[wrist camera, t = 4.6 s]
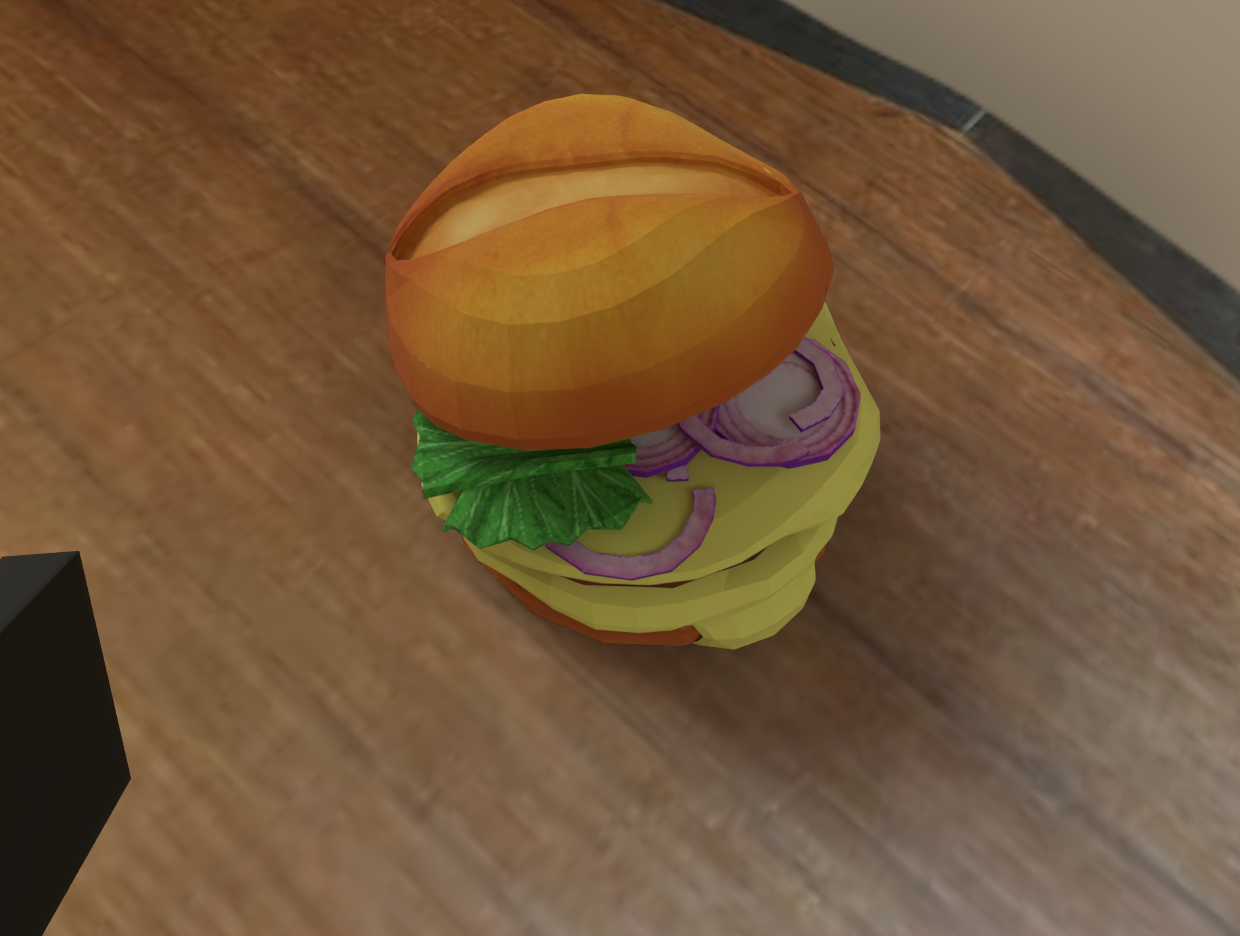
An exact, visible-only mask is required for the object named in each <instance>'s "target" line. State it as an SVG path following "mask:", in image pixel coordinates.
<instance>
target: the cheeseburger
mask: <svg viewBox="0 0 1240 936" xmlns="http://www.w3.org/2000/svg"><path fill="white" fill-rule="evenodd" d="M833 272H834V268H833V262H832V256H831V252H830V249H829V246H828V244H827V242H826V240H825V238H824V236H823V234H822V232H821V230H820V228H819V226H818V224H817V222H816V221H815V219H814V217H813V215H812V213H811V211H810V209H809V207H808V205H807V203H806V201H805V199H804V197H803V195H802V193H801V192H800V191H799V190H798V189H797V188H796V187H795V186H794V185H793V183H792V182H791V181H790V180H789V179H788V178H787V177H786V176H785V175H783V174H782V173H780V172H779V171H777V170H776V169H774V168H772V167H770V166H768V165H767V164H765V163H763V162H761V161H759V160H757V159H755V158H753V157H751V156H750V155H748V154H746V153H744V152H742V151H740V150H738V149H737V148H735V147H733V146H731V145H729V144H727V143H726V142H724V141H722V140H720V139H719V138H717V137H715V136H713V135H712V134H710V133H708V132H707V131H705V130H703V129H702V128H700V127H698V126H696V125H694V124H693V123H691V122H689V121H687V120H685V119H684V118H682V117H680V116H678V115H676V114H674V113H673V112H670V111H667V110H664V109H661V108H658V107H655V106H652V105H649V104H646V103H643V102H640V101H637V100H634V99H631V98H627V97H622V96H614V95H593V94H578V95H573V96H569V97H564V98H559V99H554V100H549V101H545V102H542V103H540V104H538V105H535V106H533V107H531V108H529V109H526V110H524V111H522V112H520V113H517V114H515V115H513V116H510V117H509V118H507V119H506V120H504V121H503V122H502V123H500V124H499V125H497V126H496V127H495V128H493V129H492V130H490V131H489V132H488V133H486V134H485V135H484V136H482V137H481V138H480V139H478V140H477V141H476V142H474V143H473V144H472V145H471V146H470V147H468V148H467V149H466V150H465V151H464V152H462V153H461V154H460V155H459V156H458V157H456V158H455V159H454V160H453V161H452V162H451V163H449V165H448V166H447V167H446V168H445V169H444V170H443V171H442V172H441V173H440V174H439V175H438V176H437V178H436V179H435V180H434V181H433V182H432V183H431V184H430V185H429V186H428V187H427V188H426V189H425V191H424V192H423V193H422V194H421V195H420V197H419V198H418V199H417V201H416V202H415V203H414V205H413V206H412V207H411V209H410V210H409V211H408V212H407V214H406V215H405V216H404V218H403V219H402V221H401V223H400V224H399V226H398V227H397V229H396V230H395V233H394V236H393V238H392V241H391V244H390V246H389V249H388V252H387V254H386V268H385V292H386V321H387V331H388V337H389V343H390V348H391V354H392V360H393V364H394V366H395V368H396V370H397V372H398V374H399V376H400V378H401V380H402V382H403V384H404V385H405V387H406V389H407V391H408V393H409V395H410V397H411V399H412V401H413V403H414V405H415V407H416V409H418V411H417V413H416V414H415V416H414V418H413V419H412V422H413V423H414V425H415V427H416V429H417V431H418V437H417V449H416V452H415V456H414V459H413V463H412V467H411V469H412V470H413V471H414V473H415V474H416V475H417V476H418V478H419V479H420V480H421V482H422V483H421V486H422V488H423V496H424V499H427V498H428V500H429V502H430V504H431V506H432V508H433V510H434V512H435V514H436V516H437V517H439V518H441V519H443V520H445V521H446V522H445V524H444V526H443V528H442V530H441V531H443V532H446V531H447V530H448V529H455V530H457V531H458V532H459V533H460V534H461V535H462V538H463V541H464V544H465V547H466V548H467V549H468V550H469V551H470V552H471V553H472V554H473V555H474V556H475V557H476V558H477V559H478V560H479V561H480V562H481V563H482V564H483V565H484V566H485V567H486V568H487V569H488V570H489V571H490V572H491V573H492V574H493V575H494V576H495V577H496V578H497V579H498V580H499V581H500V582H501V583H502V584H503V585H504V586H505V587H506V588H507V589H508V590H509V591H511V592H512V593H513V594H514V595H515V596H516V597H517V598H518V599H519V600H520V601H521V602H522V603H523V604H524V605H525V606H526V607H527V608H528V609H529V610H530V611H531V612H532V613H533V614H536V615H538V616H541V617H543V618H545V619H548V620H550V621H553V622H555V623H557V624H560V625H562V626H565V627H567V628H569V629H572V630H574V631H577V632H579V633H581V634H584V635H586V636H589V637H591V638H593V639H596V640H598V641H601V642H603V643H620V644H646V645H671V646H685V645H687V644H690V643H694V644H697V645H701V646H711V647H718V648H725V649H733V650H734V649H737V648H740V647H743V646H746V645H748V644H751V643H754V642H757V641H760V640H762V639H765V638H768V637H771V636H774V635H775V634H776V633H777V632H778V631H779V630H780V629H781V628H782V627H784V626H785V625H786V624H787V623H788V622H789V621H790V620H791V619H792V618H793V617H794V616H795V615H796V614H797V613H798V612H800V611H801V610H802V609H803V607H804V605H805V603H806V600H807V598H808V596H809V594H810V592H811V590H812V587H813V585H814V583H815V575H816V572H815V563H816V562H817V561H818V560H819V559H820V558H821V557H822V555H823V554H824V552H825V550H826V547H827V545H828V542H829V539H830V538H831V537H832V535H833V532H834V529H835V525H836V522H837V518H838V516H840V515H842V514H843V513H844V511H845V510H846V508H847V507H848V505H849V504H850V503H851V501H852V500H853V498H854V497H855V495H856V494H857V492H858V491H859V489H860V488H861V486H862V484H863V482H864V480H865V478H866V476H867V473H868V471H869V469H870V467H871V464H872V462H873V459H874V457H875V454H876V451H877V448H878V445H879V442H880V411H879V409H878V407H877V405H876V403H875V401H874V400H873V398H872V396H871V394H870V392H869V390H868V388H867V386H866V385H865V383H864V381H863V379H862V377H861V375H860V373H859V372H858V370H857V368H856V366H855V364H854V362H853V360H852V359H851V357H850V355H849V353H848V351H847V349H846V347H845V346H844V344H843V342H842V340H841V338H840V335H839V333H838V331H837V328H836V326H835V324H834V321H833V319H832V317H831V314H830V312H829V310H828V307H827V305H826V303H825V299H826V297H827V295H828V289H829V286H830V283H831V279H832V276H833Z"/></svg>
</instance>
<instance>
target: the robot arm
mask: <svg viewBox="0 0 1240 936" xmlns="http://www.w3.org/2000/svg"><path fill="white" fill-rule="evenodd" d="M130 779H131V776H130V772H129V767H128V763H127V759H126V754H125V750H124V746H123V741H122V737H121V732H120V728H119V724H118V719H117V715H116V710H115V706H114V702H113V697H112V693H111V689H110V684H109V680H108V675H107V671H106V667H105V662H104V658H103V653H102V649H101V645H100V640H99V636H98V631H97V627H96V623H95V618H94V614H93V610H92V605H91V601H90V596H89V592H88V588H87V583H86V579H85V574H84V570H83V566H82V561H81V557H80V552H79V551H72V552H59V553H46V554H33V555H20V556H7V557H2V558H1V559H0V936H42V935H43V933H44V931H45V929H46V928H47V926H48V924H49V922H50V921H51V919H52V917H53V915H54V914H55V912H56V910H57V908H58V906H59V905H60V903H61V901H62V899H63V898H64V896H65V894H66V892H67V891H68V889H69V887H70V885H71V884H72V882H73V880H74V878H75V876H76V875H77V873H78V871H79V869H80V868H81V866H82V864H83V862H84V861H85V859H86V857H87V855H88V853H89V852H90V850H91V848H92V846H93V845H94V843H95V841H96V839H97V838H98V836H99V834H100V832H101V831H102V829H103V827H104V825H105V823H106V822H107V820H108V818H109V816H110V815H111V813H112V811H113V809H114V808H115V806H116V804H117V802H118V800H119V799H120V797H121V795H122V793H123V792H124V790H125V788H126V786H127V785H128V783H129V781H130Z"/></svg>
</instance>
